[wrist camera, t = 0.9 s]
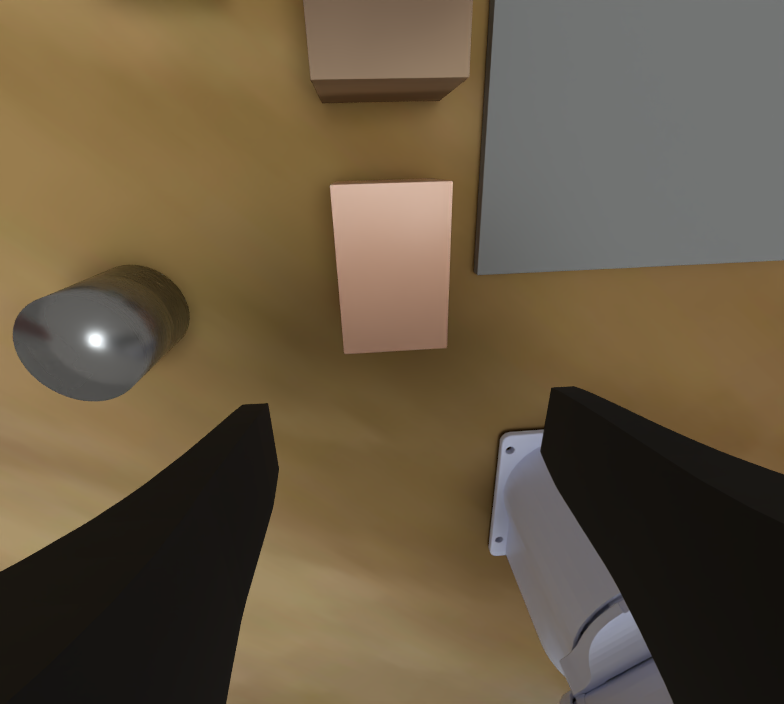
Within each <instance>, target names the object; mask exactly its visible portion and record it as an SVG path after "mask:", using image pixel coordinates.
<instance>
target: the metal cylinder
mask: <svg viewBox="0 0 784 704" xmlns="http://www.w3.org/2000/svg"><path fill="white" fill-rule="evenodd" d="M188 325H189V309H188V305H187V302H186V300H185V298H184V296H183V294H182V293H181V291H180V290H179V288H178V287H177V286H176V285H175V284H174V283H173V282H172V281H171V280H170V279H168V278H167V277H166V276H164V275H163V274H161V273H159V272H157V271H155V270H153V269H150V268H148V267H144V266H138V265H123V266H118V267H115V268H113V269H110V270H108V271H105V272H103V273H101V274H98V275H96V276H93V277H91V278H88V279H86V280H84V281H81V282H79V283H76V284H74V285H72V286H69V287H67V288H64V289H62V290H59V291H57V292H55V293H52V294H50V295H47V296H45V297H42V298H40V299H38V300H35V301H33V302H32V303H30V304H28V305H27V306H26V307H25V308H24V309H23V310H22V311H21V312H20V313H19V315H18V317H17V319H16V320H15V324H14V327H13V342H14V346H15V349H16V352H17V355H18V357H19V358H20V360H21V362H22V363H23V365H24V366H25V368H26V369H27V370H28V371H29V372H30V373H31V375H33V376H34V377H35V378H36V379H37V380H38V381H39V382H41V383H42V384H43V385H45V386H46V387H48V388H50V389H51V390H53V391H55V392H57V393H59V394H62V395H64V396H67V397H70V398H74V399H78V400H83V401H104V400H109V399H113V398H116V397H118V396H120V395H122V394H124V393H126V392H127V391H128V390H129V389H131V388H132V387H133V386H134V385H135V384H136V383H137V382H138V381H139V380H140V379H141V378H142V377H143V376H144V375H145V374H146V373H147V372H148V371H149V370H150V369H151V368H152V367H153V366H154V365H155V364H156V363H157V362H158V361H159V360H160V359H161V358H162V357H163V356H164V355H165V354H166V353H167V352H168V351H169V350H170V349H171V348H172V347H173V346H174V345H175V344H176V343H177V342H178V341H179V340H180V339H181V338H182V337H183V336H184V334H185V333H186V330H187V328H188Z"/></svg>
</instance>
